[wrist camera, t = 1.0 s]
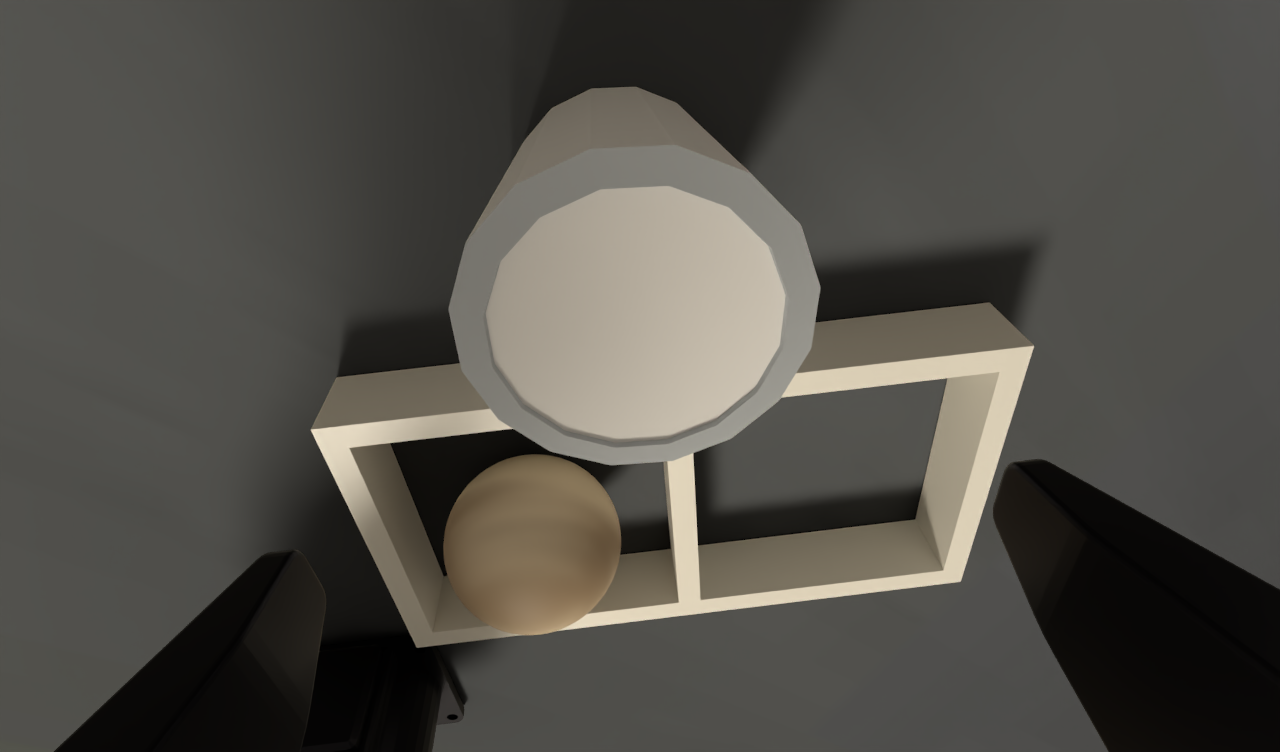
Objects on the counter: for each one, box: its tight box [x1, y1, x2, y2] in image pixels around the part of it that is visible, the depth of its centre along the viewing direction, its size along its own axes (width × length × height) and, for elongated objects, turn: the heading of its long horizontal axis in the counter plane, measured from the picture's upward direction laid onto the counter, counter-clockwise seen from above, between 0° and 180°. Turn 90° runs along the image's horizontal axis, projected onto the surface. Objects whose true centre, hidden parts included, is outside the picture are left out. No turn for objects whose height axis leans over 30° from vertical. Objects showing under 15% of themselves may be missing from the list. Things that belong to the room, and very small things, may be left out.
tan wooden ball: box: [443, 454, 621, 635], centre depth 22 cm, size 6×6×6 cm
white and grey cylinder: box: [448, 87, 821, 465], centre depth 15 cm, size 7×7×7 cm
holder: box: [311, 302, 1034, 648], centre depth 23 cm, size 11×20×2 cm, turn 95°
